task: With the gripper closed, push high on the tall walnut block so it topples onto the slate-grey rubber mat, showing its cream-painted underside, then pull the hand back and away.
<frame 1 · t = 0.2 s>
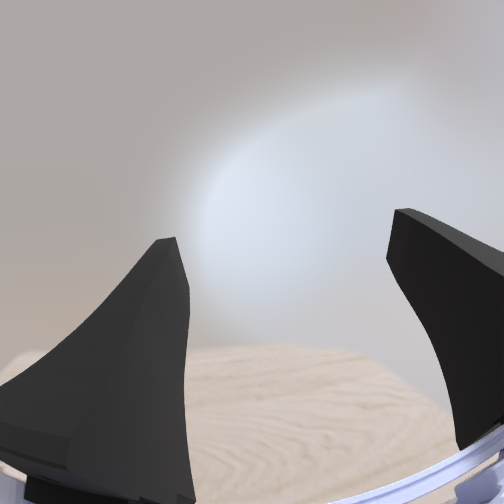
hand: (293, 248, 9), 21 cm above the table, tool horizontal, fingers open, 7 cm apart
cup with straw: (38, 469, 17), on the table
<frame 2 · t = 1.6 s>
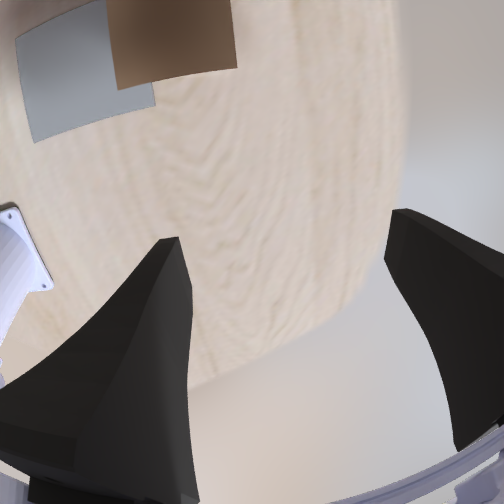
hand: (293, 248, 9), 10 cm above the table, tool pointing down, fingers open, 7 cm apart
walnut block: (189, 35, 13), on the table
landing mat: (77, 65, 13), on the table
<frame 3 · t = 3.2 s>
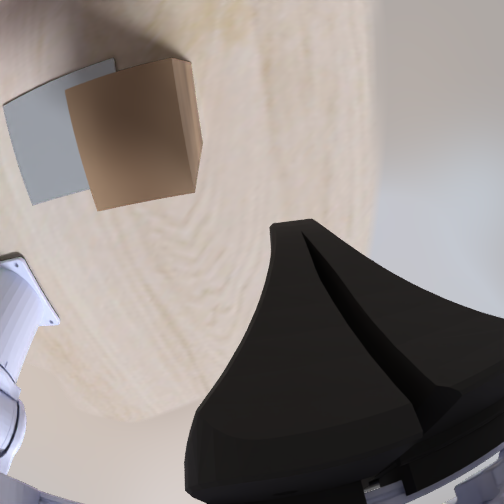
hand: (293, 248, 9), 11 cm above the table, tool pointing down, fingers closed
walnut block: (164, 108, 16), on the table
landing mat: (64, 136, 15), on the table
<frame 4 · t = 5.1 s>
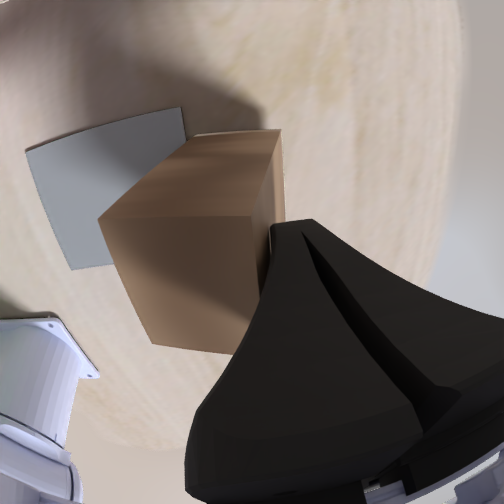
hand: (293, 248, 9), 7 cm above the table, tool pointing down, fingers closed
walnut block: (242, 180, 14), point 1 cm above the table, tilted 16°
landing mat: (112, 198, 15), on the table
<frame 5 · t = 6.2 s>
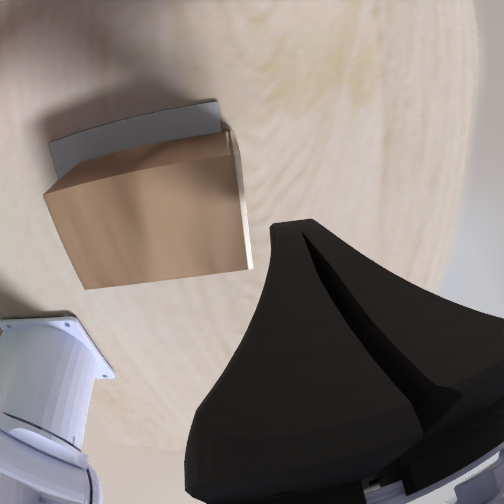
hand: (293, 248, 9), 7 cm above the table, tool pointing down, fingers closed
walnut block: (242, 195, 13), point 2 cm above the table, tilted 90°, touching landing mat
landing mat: (142, 193, 15), on the table
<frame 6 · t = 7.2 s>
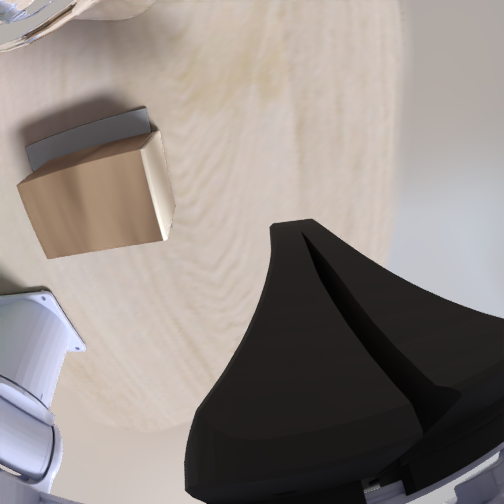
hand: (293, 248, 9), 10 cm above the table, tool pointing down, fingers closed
walnut block: (162, 181, 15), point 2 cm above the table, tilted 90°, touching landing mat
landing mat: (94, 184, 17), on the table
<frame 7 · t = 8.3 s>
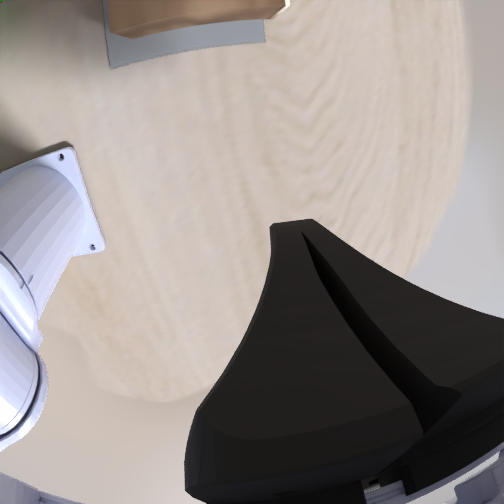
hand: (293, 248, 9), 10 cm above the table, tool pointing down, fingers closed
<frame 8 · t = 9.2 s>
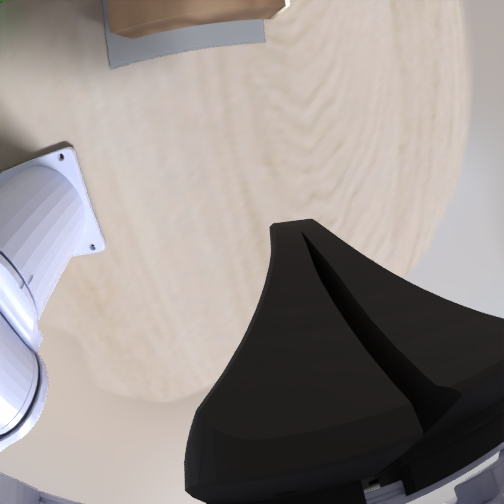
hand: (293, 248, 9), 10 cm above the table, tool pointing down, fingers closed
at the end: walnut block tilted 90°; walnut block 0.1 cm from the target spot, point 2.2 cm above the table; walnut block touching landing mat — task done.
